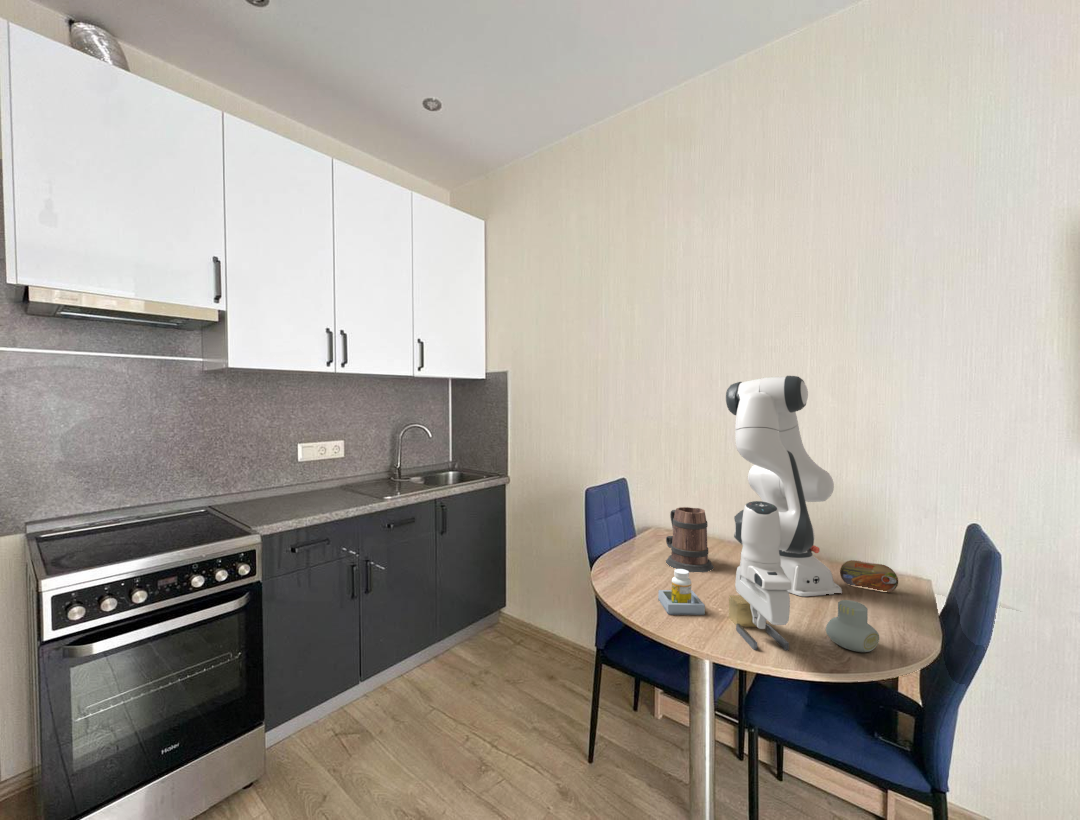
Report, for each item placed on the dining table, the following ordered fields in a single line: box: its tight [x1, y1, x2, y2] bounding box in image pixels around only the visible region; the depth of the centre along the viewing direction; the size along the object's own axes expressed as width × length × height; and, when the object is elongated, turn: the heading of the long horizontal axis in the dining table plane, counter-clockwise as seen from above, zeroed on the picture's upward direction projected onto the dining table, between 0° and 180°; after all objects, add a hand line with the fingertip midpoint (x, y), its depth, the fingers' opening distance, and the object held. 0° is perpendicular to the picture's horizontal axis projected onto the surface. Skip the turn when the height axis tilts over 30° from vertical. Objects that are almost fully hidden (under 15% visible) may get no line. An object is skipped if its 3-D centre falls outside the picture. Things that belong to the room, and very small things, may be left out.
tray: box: [657, 589, 706, 616], centre depth 130 cm, size 10×10×3 cm
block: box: [728, 594, 758, 628], centre depth 121 cm, size 6×5×6 cm
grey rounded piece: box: [825, 599, 880, 653], centre depth 110 cm, size 11×8×10 cm
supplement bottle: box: [671, 569, 692, 603], centre depth 130 cm, size 5×5×10 cm
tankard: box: [665, 506, 715, 573], centre depth 170 cm, size 24×17×20 cm
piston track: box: [735, 623, 790, 652], centre depth 116 cm, size 10×18×2 cm, turn 0°
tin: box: [839, 559, 899, 593], centre depth 146 cm, size 15×3×8 cm, turn 56°
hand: (758, 626), depth 112 cm, fingers closed
